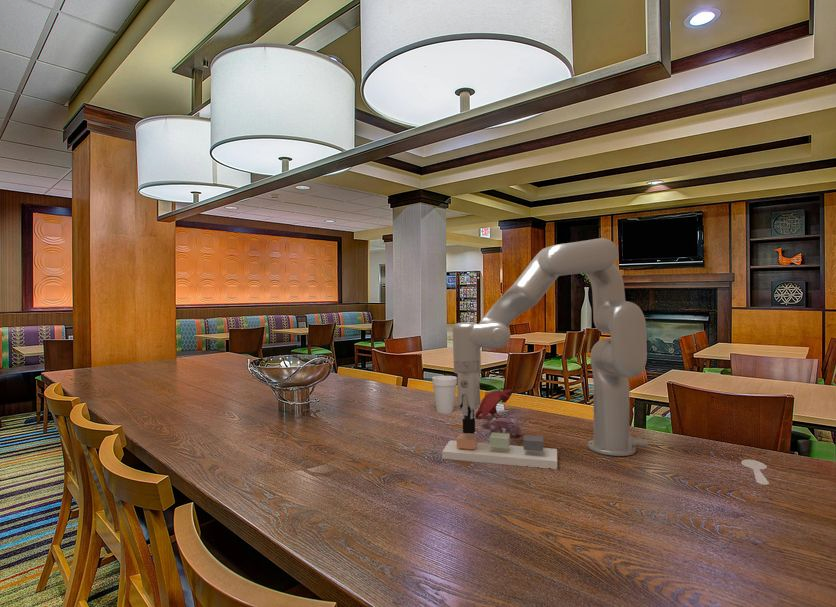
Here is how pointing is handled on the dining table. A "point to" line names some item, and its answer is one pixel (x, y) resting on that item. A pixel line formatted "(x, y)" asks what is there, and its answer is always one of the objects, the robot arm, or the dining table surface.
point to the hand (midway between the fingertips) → (469, 432)
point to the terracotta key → (467, 441)
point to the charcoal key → (533, 442)
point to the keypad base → (502, 455)
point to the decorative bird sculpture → (492, 402)
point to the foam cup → (444, 393)
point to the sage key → (499, 440)
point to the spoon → (756, 470)
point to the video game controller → (504, 426)
